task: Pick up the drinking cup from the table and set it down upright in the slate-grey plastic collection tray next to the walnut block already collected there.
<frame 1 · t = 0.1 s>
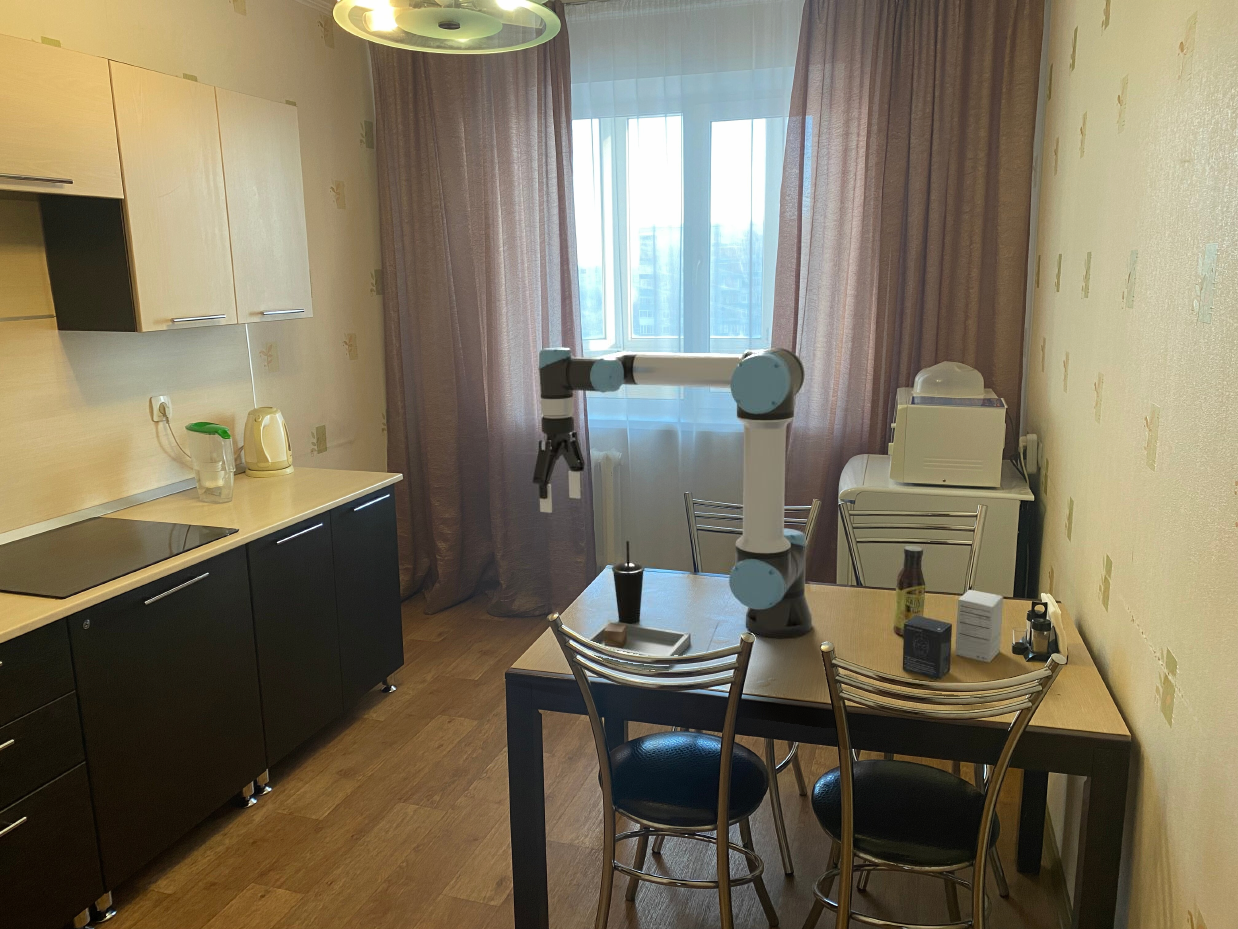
hand: (561, 504, 212), 28 cm above the table, fingers open, 13 cm apart
drinking cup: (629, 623, 213), on the table
sauce bottle: (907, 633, 204), on the table
walnut block: (615, 644, 199), point 1 cm above the table, touching tray
box: (925, 672, 184), on the table
tray: (636, 650, 197), on the table
supplement box: (977, 654, 192), on the table
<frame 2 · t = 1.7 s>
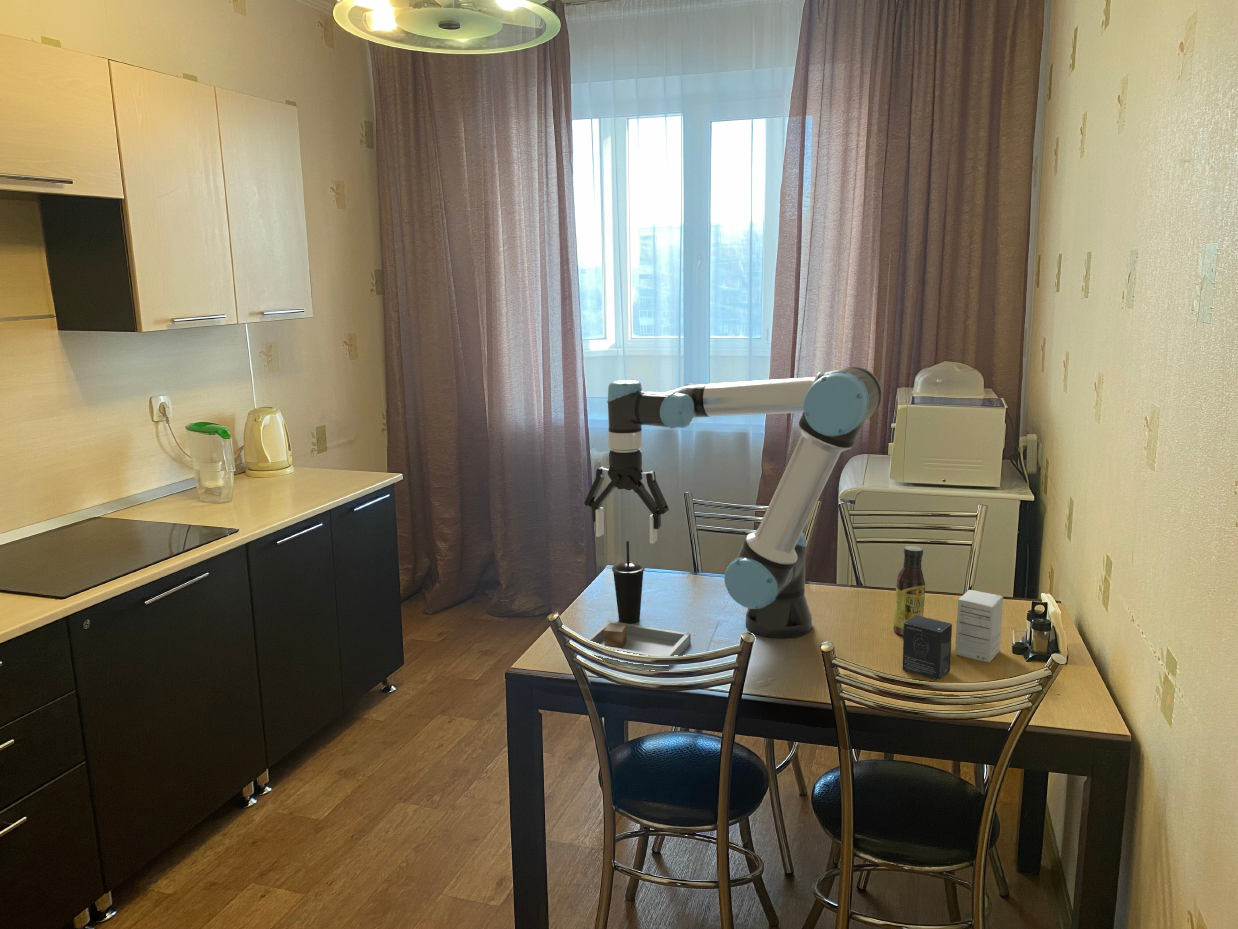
hand: (626, 538, 209), 21 cm above the table, fingers open, 13 cm apart
nothing on the table moved.
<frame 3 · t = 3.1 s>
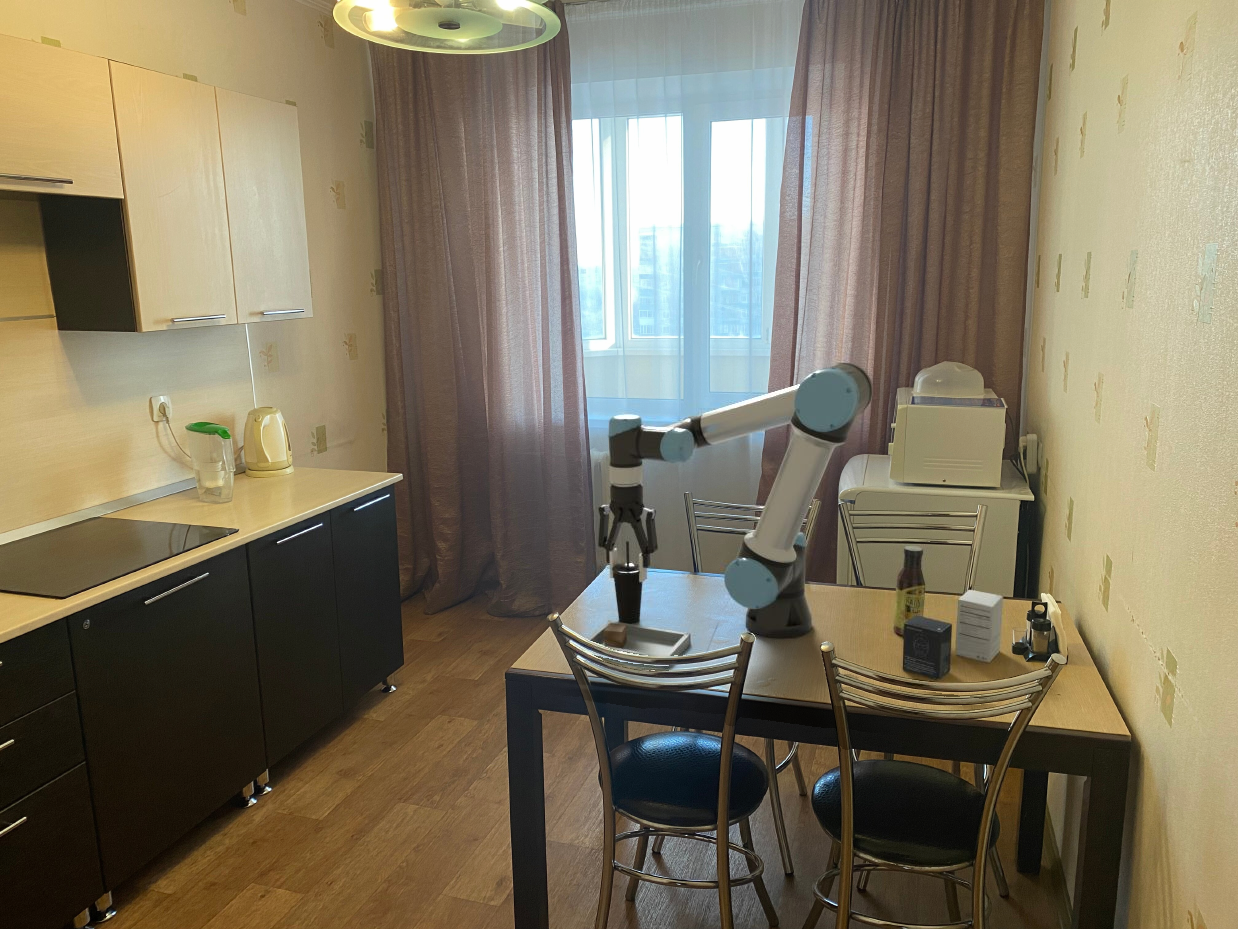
hand: (628, 578, 211), 11 cm above the table, fingers closed on drinking cup, 7 cm apart
drinking cup: (629, 623, 213), on the table, touching gripper
everything else where it was.
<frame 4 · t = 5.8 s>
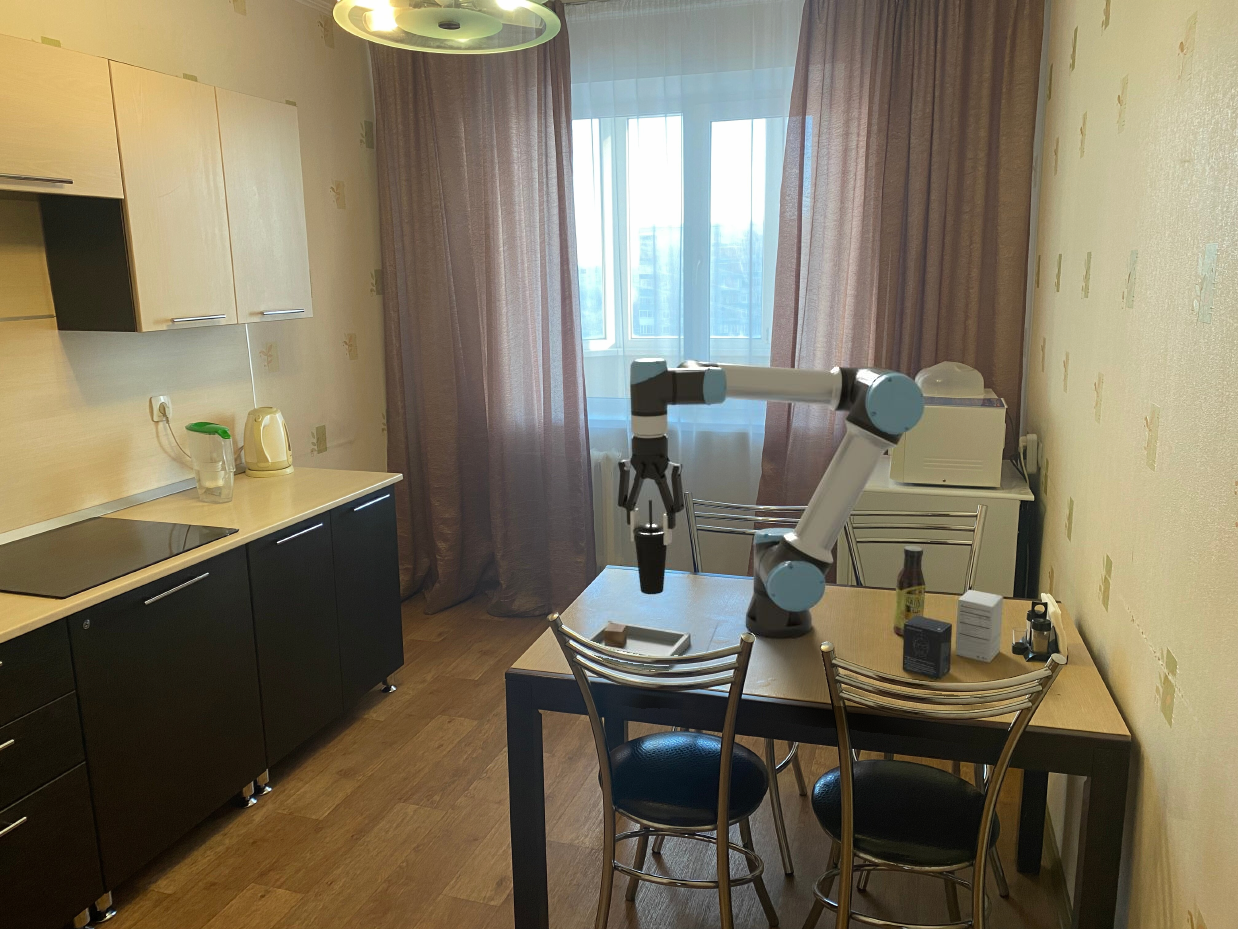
hand: (651, 541, 190), 25 cm above the table, fingers closed on drinking cup, 7 cm apart
drinking cup: (652, 591, 193), point 14 cm above the table, touching gripper
everything else where it was.
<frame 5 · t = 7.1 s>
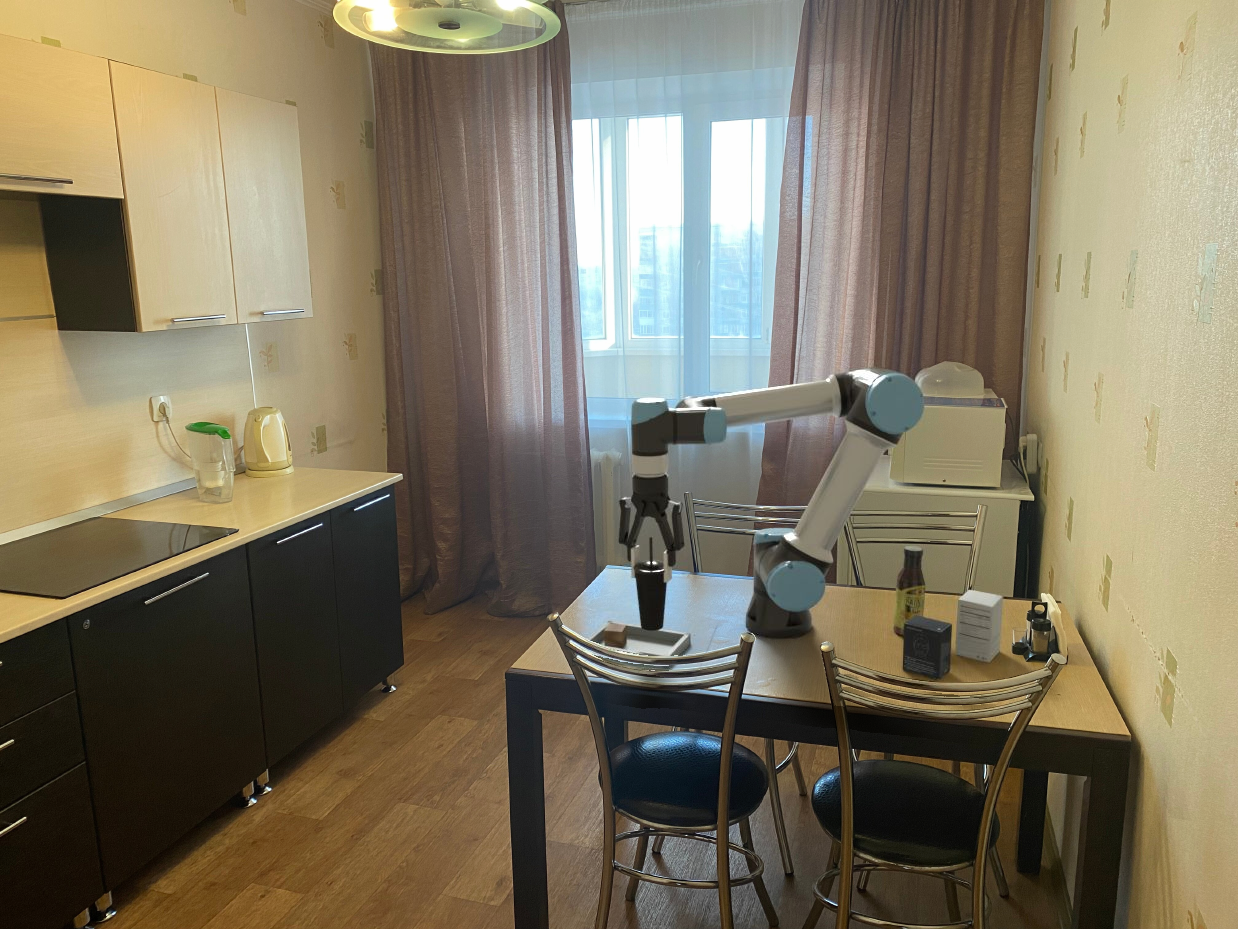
hand: (651, 578, 192), 17 cm above the table, fingers closed on drinking cup, 7 cm apart
drinking cup: (652, 627, 194), point 6 cm above the table, touching gripper
everything else where it was.
when the fingers open (13 cm above the table, at t = 8.3 s): drinking cup drops 2 cm, resting on tray.
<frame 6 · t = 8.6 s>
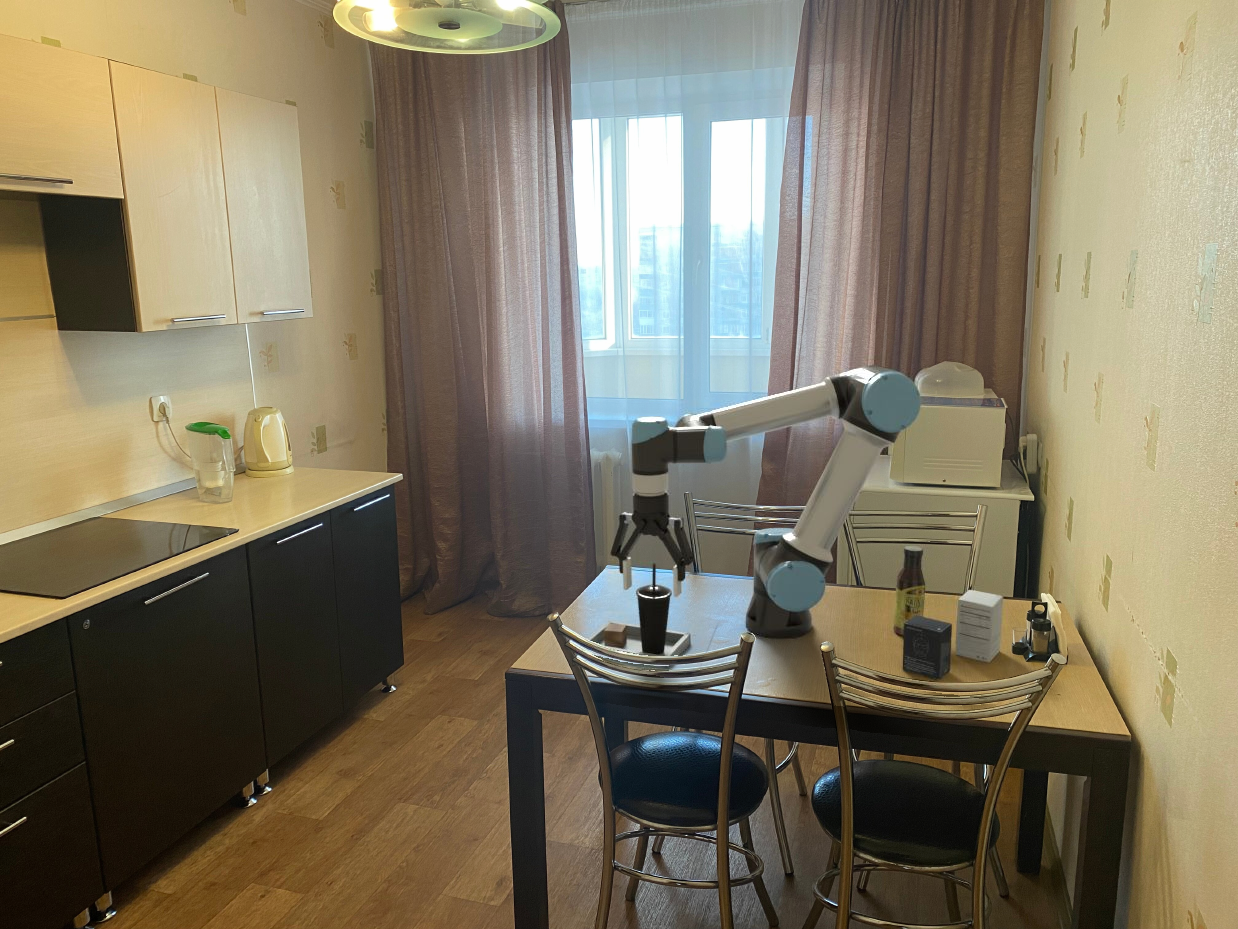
hand: (652, 591, 193), 14 cm above the table, fingers open, 11 cm apart
drinking cup: (653, 651, 196), resting on tray
everything else where it was.
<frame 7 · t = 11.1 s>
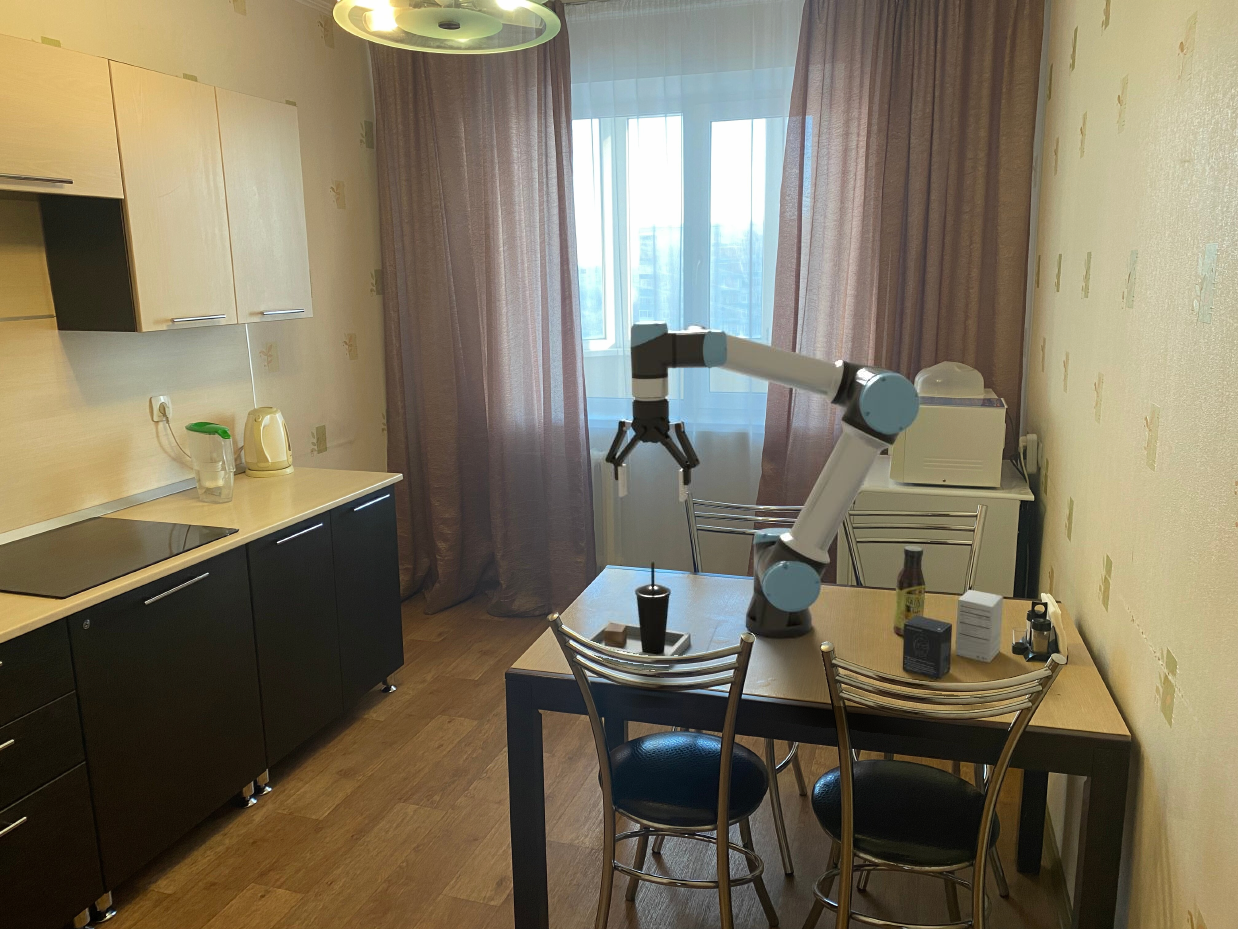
hand: (652, 497, 190), 35 cm above the table, fingers open, 13 cm apart
nothing on the table moved.
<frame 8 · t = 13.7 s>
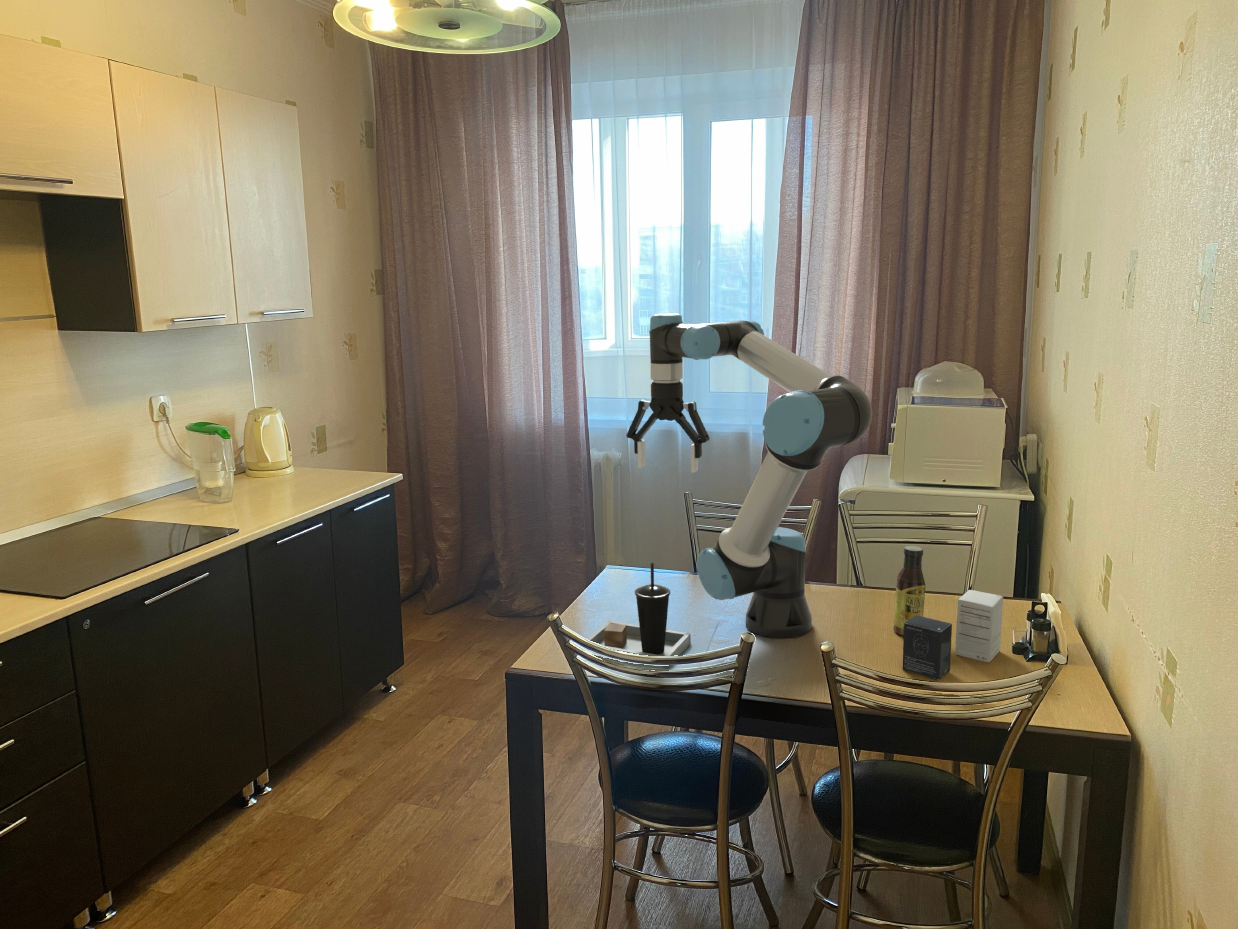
hand: (667, 469, 215), 35 cm above the table, fingers open, 13 cm apart
nothing on the table moved.
at the end: drinking cup inside the target area on the tray (4.0 cm from its centre), point 0.4 cm above the tray's base; drinking cup tilted 0°; walnut block moved 0.0 cm from its start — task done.
